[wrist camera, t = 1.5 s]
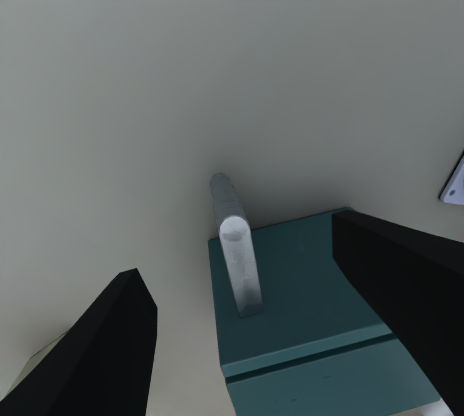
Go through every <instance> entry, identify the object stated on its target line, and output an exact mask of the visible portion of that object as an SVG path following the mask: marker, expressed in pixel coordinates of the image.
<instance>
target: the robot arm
mask: <svg viewBox="0 0 464 416" xmlns="http://www.w3.org/2000/svg"><path fill="white" fill-rule="evenodd" d="M440 200H441V201H442V202H445V203H451V204H460V205H464V156H463V158H462V159H461V161H460V163H459V165H458V167H457V168H456V170H455V172H454V174H453V175H452V177H451V179H450V181H449V182H448V184H447V186H446V188H445V190H444V191H443V193H442V195H441V197H440ZM332 257H333V259H334V261H335V262H336V264H337V265H338V267H339V268H340V270H341V271H342V273H343V274H344V276H345V277H346V279H347V280H348V281H349V283H350V284H351V285H352V286H353V287H354V288H355V290H356V291H357V292H358V293H359V294H360V295H361V297H362V298H363V299H364V300H365V301H366V302H367V304H368V305H369V306H370V307H371V308H372V309H373V310H374V312H375V313H376V314H377V315H378V316H379V317H380V318H381V320H382V321H383V322H384V323H385V324H386V325H387V326H388V328H389V329H390V330H391V331H392V332H393V333H394V335H395V336H396V337H397V338H398V339H399V341H400V342H401V343H402V344H403V346H404V347H405V348H406V349H407V351H408V352H409V353H410V355H411V356H412V357H413V359H414V360H415V362H416V363H417V364H418V366H419V367H420V368H421V370H422V371H423V373H424V374H425V375H426V377H427V378H428V379H429V381H430V382H431V384H432V385H433V386H434V388H435V389H436V391H437V392H438V394H439V395H440V396H441V398H442V399H443V401H444V402H445V404H446V405H447V406H448V408H449V409H450V411H451V412H452V414H453V415H454V416H464V243H462V242H458V241H455V240H451V239H447V238H443V237H440V236H436V235H432V234H429V233H425V232H422V231H418V230H415V229H412V228H408V227H405V226H402V225H398V224H395V223H392V222H389V221H386V220H382V219H379V218H376V217H373V216H370V215H366V214H363V213H359V212H356V211H352V210H344V211H340V212H337V213H333V214H332ZM156 340H157V306H156V304H155V302H154V300H153V298H152V296H151V294H150V293H149V291H148V289H147V287H146V285H145V283H144V281H143V279H142V277H141V275H140V273H139V271H138V269H137V268H135V269H131V270H128V271H124V272H120V273H119V274H118V275H117V276H116V277H115V278H114V279H113V280H112V281H111V282H110V283H109V285H108V286H107V287H106V288H105V289H104V290H103V292H102V293H101V294H100V295H99V296H98V297H97V299H96V300H95V301H94V302H93V303H92V304H91V306H90V307H89V308H88V309H87V310H86V311H85V313H84V314H83V315H82V316H81V317H80V318H79V319H78V321H77V322H76V323H75V324H74V325H73V326H72V328H71V329H70V330H69V331H68V332H67V333H66V334H65V335H64V336H63V337H62V338H61V340H60V341H59V342H58V343H57V344H56V345H55V346H54V347H53V348H52V349H51V350H50V352H49V353H48V354H47V355H46V356H45V357H44V358H43V359H42V360H41V361H40V362H39V364H38V365H37V366H36V367H35V368H34V369H33V370H32V371H31V372H30V373H29V374H28V375H27V376H26V377H25V378H24V379H23V380H22V381H21V382H20V383H19V384H18V385H17V386H16V387H15V388H14V389H13V390H12V391H11V392H10V393H9V394H8V395H7V396H6V397H5V398H4V399H3V400H2V401H0V416H145V415H146V408H147V401H148V395H149V388H150V381H151V375H152V368H153V361H154V354H155V347H156Z"/></svg>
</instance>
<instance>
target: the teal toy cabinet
mask: <svg viewBox="0 0 464 416" xmlns="http://www.w3.org/2000/svg"><path fill="white" fill-rule="evenodd" d="M225 383H226V387H227V390H228V393H229V395H230V398H231V401H232V404H233V407H234V409H235V412H236V415H237V416H388V415H392V414H395V413H399V412H402V411H406V410H409V409H413V408H416V407H420V406H423V405H427V404H430V403H434V402H437V401H440V399H441V396H440V395H439V394H438V392H437V391H436V389H435V388H434V386H433V385H432V384H431V382H430V381H429V379H428V378H427V377H426V375H425V374H424V373H423V371H422V370H421V368H420V367H419V366H418V364H417V363H416V362H415V360H414V359H413V357H412V356H411V355H410V353H409V352H408V351H407V349H406V348H405V347H404V346H403V344H402V343H401V342H400V341H399V339H398V338H397V337H396V336H395V335H394V333H390V334H386V335H383V336H379V337H375V338H372V339H368V340H364V341H360V342H357V343H353V344H349V345H345V346H342V347H338V348H334V349H331V350H327V351H323V352H319V353H316V354H312V355H308V356H304V357H301V358H297V359H293V360H289V361H286V362H282V363H278V364H275V365H271V366H267V367H263V368H260V369H256V370H252V371H248V372H245V373H241V374H237V375H234V376H230V377H225Z"/></svg>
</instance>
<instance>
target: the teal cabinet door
mask: <svg viewBox="0 0 464 416" xmlns="http://www.w3.org/2000/svg"><path fill="white" fill-rule="evenodd" d="M210 190H211V195H212V201H213V206H214V212H215V218H216V223H217V229H218V234H219V238H218V239H214V240H210V241H208V248H209V258H210V268H211V278H212V289H213V299H214V309H215V319H216V329H217V340H218V350H219V360H220V367H221V370H222V373H223V376H224V377H230V376H234V375H237V374H241V373H245V372H248V371H252V370H256V369H260V368H263V367H267V366H271V365H275V364H278V363H282V362H286V361H289V360H293V359H297V358H301V357H304V356H308V355H312V354H316V353H319V352H323V351H327V350H331V349H334V348H338V347H342V346H345V345H349V344H353V343H357V342H360V341H364V340H368V339H372V338H375V337H379V336H383V335H386V334H390V333H393V332H392V331H391V330H390V329H389V328H388V326H387V325H386V324H385V323H384V322H383V321H382V320H381V318H380V317H379V316H378V315H377V314H376V313H375V312H374V310H373V309H372V308H371V307H370V306H369V305H368V304H367V302H366V301H365V300H364V299H363V298H362V297H361V295H360V294H359V293H358V292H357V291H356V290H355V288H354V287H353V286H352V285H351V284H350V283H349V281H348V280H347V279H346V277H345V276H344V274H343V273H342V271H341V270H340V268H339V267H338V265H337V264H336V262H335V261H334V259H333V257H332V214H333V213H337V212H340V211H344V210H352V211H355V210H354V209H353V208H351V207H348V208H344V209H340V210H336V211H331V212H327V213H323V214H319V215H315V216H310V217H306V218H302V219H298V220H294V221H289V222H285V223H281V224H277V225H273V226H268V227H264V228H260V229H256V230H252V231H251V230H250V225H249V222H248V219H247V217H246V215H245V212H244V210H243V208H242V205H241V203H240V201H239V199H238V196H237V194H236V192H235V189H234V187H233V185H232V182H231V180H230V178H229V177H228V176H227V175H226V174H223V173H218V174H215V175H214V176H213V177H212V178H211V180H210ZM356 212H357V211H356Z"/></svg>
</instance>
